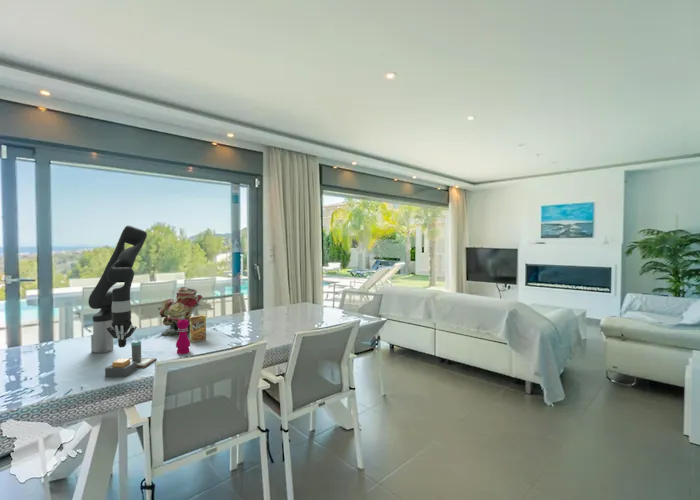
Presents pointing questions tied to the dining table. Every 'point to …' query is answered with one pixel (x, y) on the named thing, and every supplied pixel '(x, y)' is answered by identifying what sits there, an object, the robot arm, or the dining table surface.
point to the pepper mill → (183, 336)
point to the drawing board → (145, 362)
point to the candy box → (197, 328)
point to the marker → (136, 351)
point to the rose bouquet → (179, 309)
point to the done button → (121, 363)
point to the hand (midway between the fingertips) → (122, 346)
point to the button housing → (121, 370)
